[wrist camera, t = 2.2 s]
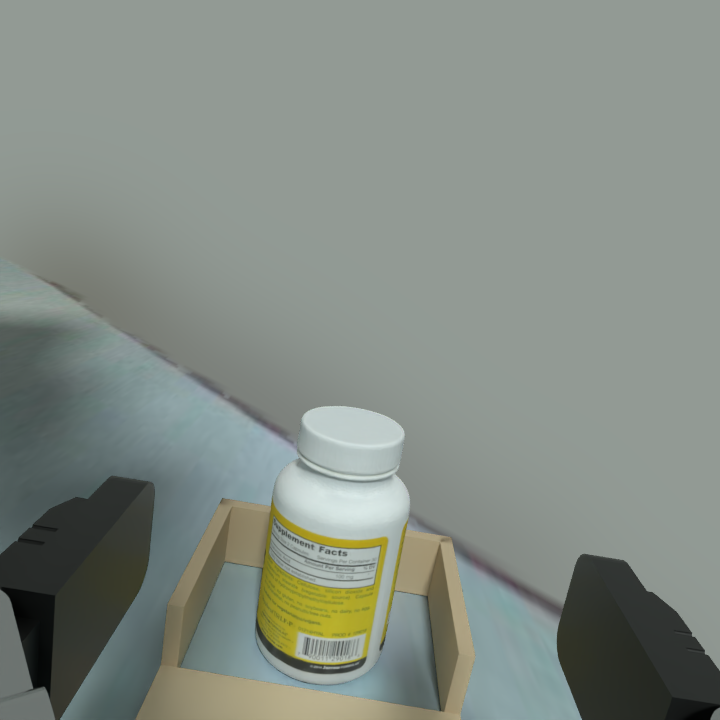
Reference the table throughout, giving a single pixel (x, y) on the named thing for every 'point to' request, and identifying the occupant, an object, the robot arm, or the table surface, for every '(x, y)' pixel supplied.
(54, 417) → the table surface
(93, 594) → the robot arm
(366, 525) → the supplement bottle
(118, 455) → the table surface
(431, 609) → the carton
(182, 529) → the table surface
